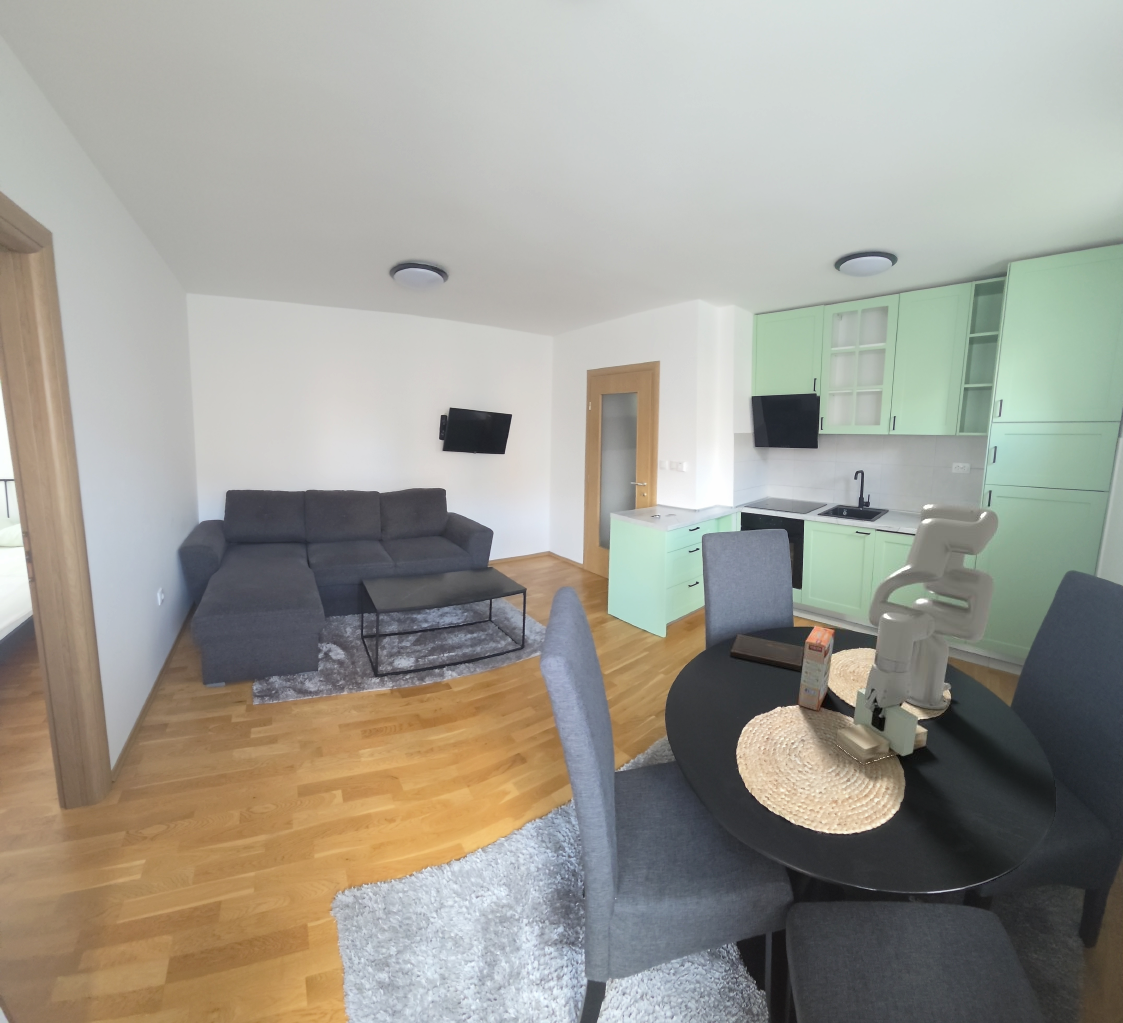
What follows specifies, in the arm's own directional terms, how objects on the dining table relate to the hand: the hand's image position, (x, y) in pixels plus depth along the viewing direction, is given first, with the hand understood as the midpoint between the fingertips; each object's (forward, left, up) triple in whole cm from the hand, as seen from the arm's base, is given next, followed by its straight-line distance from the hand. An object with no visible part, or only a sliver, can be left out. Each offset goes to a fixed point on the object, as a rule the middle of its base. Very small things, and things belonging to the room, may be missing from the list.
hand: (883, 726), depth 130 cm
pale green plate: (0, 0, -3) cm, 3 cm away
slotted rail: (0, 0, -6) cm, 6 cm away
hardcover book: (-8, -51, -7) cm, 52 cm away
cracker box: (-1, -23, -6) cm, 24 cm away
